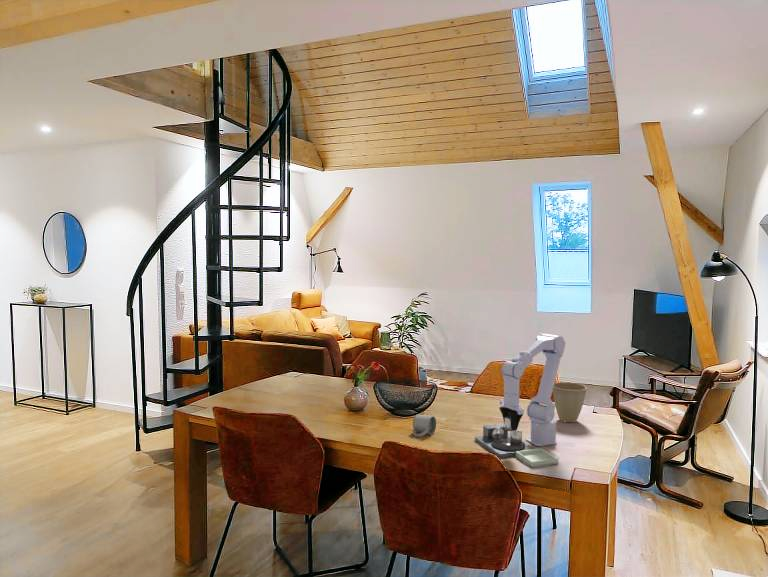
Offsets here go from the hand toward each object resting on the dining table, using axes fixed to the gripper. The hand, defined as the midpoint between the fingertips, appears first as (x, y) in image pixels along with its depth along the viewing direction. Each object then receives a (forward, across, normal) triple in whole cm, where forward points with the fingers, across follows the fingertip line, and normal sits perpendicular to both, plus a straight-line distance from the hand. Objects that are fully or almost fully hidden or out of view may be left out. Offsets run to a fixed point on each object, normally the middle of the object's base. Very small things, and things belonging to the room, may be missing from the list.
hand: (510, 427), depth 219 cm
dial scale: (+10, -6, +1) cm, 12 cm away
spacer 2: (+8, -4, +5) cm, 10 cm away
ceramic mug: (+10, -30, -24) cm, 40 cm away
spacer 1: (+1, 0, 0) cm, 1 cm away
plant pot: (+10, -28, +46) cm, 55 cm away
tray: (+10, +10, +5) cm, 15 cm away
